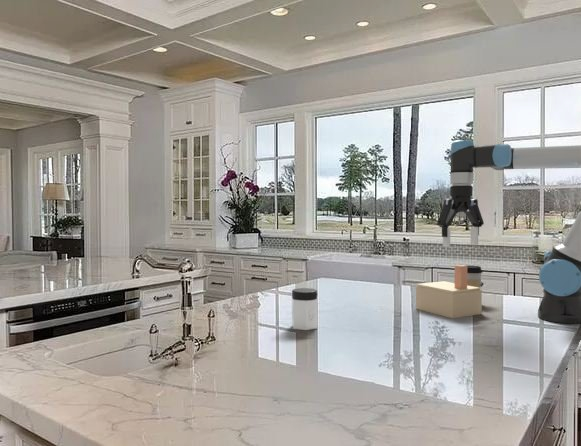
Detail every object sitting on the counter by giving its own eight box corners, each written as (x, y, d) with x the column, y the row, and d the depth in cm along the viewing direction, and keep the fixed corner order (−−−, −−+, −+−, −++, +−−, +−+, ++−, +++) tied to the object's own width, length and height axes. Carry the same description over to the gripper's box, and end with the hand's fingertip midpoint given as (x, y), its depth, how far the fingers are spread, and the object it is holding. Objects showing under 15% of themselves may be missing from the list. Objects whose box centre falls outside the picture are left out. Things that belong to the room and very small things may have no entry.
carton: (481, 315, 174) (481, 290, 173) (452, 319, 167) (452, 293, 167) (443, 306, 190) (443, 283, 189) (416, 310, 183) (416, 286, 183)
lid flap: (480, 290, 174) (480, 265, 173) (452, 293, 167) (452, 267, 167) (443, 283, 189) (443, 260, 189) (416, 286, 183) (417, 262, 182)
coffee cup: (486, 306, 189) (486, 268, 188) (461, 306, 189) (461, 268, 188) (477, 302, 198) (477, 265, 198) (453, 302, 198) (454, 265, 198)
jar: (300, 331, 152) (300, 293, 152) (286, 326, 159) (286, 289, 159) (323, 327, 157) (323, 290, 157) (308, 322, 164) (308, 287, 164)
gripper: (477, 186, 181) (476, 243, 182) (426, 184, 169) (426, 246, 170) (494, 185, 174) (493, 245, 175) (443, 184, 162) (442, 247, 163)
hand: (460, 245), depth 172 cm, fingers open, 13 cm apart
